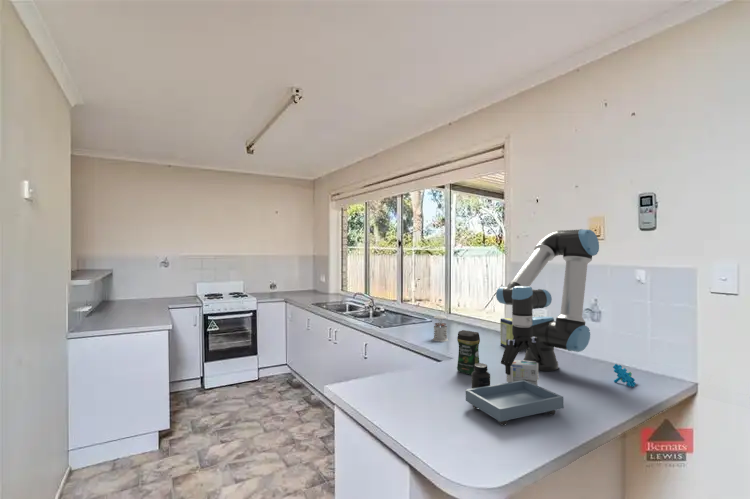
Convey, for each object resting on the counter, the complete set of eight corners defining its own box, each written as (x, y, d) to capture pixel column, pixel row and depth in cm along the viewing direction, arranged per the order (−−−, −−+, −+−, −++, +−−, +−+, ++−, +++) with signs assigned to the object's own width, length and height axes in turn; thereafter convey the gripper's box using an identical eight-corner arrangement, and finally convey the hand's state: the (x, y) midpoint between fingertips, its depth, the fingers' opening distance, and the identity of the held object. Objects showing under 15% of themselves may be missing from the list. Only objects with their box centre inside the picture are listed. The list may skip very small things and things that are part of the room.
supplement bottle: (469, 393, 148) (468, 362, 148) (486, 393, 149) (486, 361, 149) (475, 400, 141) (474, 367, 141) (493, 400, 142) (493, 367, 142)
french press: (432, 341, 233) (431, 299, 233) (432, 336, 244) (432, 297, 244) (448, 341, 231) (448, 300, 231) (448, 337, 243) (448, 297, 243)
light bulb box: (536, 387, 154) (536, 360, 154) (538, 393, 148) (537, 365, 148) (508, 385, 157) (508, 358, 157) (508, 390, 151) (508, 363, 151)
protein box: (535, 348, 215) (535, 320, 215) (510, 350, 212) (509, 321, 212) (524, 343, 225) (524, 317, 225) (499, 345, 222) (499, 318, 222)
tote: (465, 407, 135) (465, 389, 135) (524, 396, 145) (523, 379, 145) (500, 429, 119) (500, 409, 119) (563, 415, 128) (563, 396, 128)
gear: (629, 386, 151) (611, 363, 157) (617, 393, 154) (600, 371, 160) (642, 384, 156) (624, 362, 163) (630, 391, 160) (613, 370, 166)
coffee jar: (454, 372, 174) (454, 331, 174) (462, 368, 180) (462, 328, 180) (474, 376, 168) (474, 333, 168) (482, 372, 174) (482, 330, 174)
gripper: (504, 329, 145) (504, 387, 145) (553, 324, 154) (553, 379, 154) (491, 326, 151) (491, 381, 151) (538, 321, 160) (539, 373, 160)
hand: (522, 380), depth 152 cm, fingers closed on light bulb box, 12 cm apart
